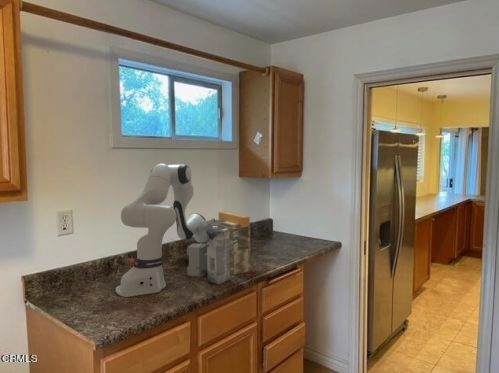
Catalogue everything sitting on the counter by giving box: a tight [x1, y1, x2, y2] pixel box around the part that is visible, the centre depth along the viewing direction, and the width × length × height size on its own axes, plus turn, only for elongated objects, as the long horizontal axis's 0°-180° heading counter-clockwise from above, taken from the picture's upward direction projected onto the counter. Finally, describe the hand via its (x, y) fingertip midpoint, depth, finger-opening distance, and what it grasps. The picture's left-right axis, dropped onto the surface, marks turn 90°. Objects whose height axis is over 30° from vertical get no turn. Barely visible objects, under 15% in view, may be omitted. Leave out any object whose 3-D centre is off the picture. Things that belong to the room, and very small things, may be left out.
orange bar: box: [218, 211, 251, 226], centre depth 201 cm, size 4×24×4 cm, turn 35°
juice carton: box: [206, 226, 231, 285], centre depth 184 cm, size 9×10×27 cm
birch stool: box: [221, 222, 252, 276], centre depth 200 cm, size 12×10×26 cm
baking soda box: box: [234, 228, 238, 251], centre depth 239 cm, size 10×6×16 cm
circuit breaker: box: [186, 243, 207, 277], centre depth 195 cm, size 8×14×15 cm, turn 78°
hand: (221, 219), depth 211 cm, fingers open, 8 cm apart
